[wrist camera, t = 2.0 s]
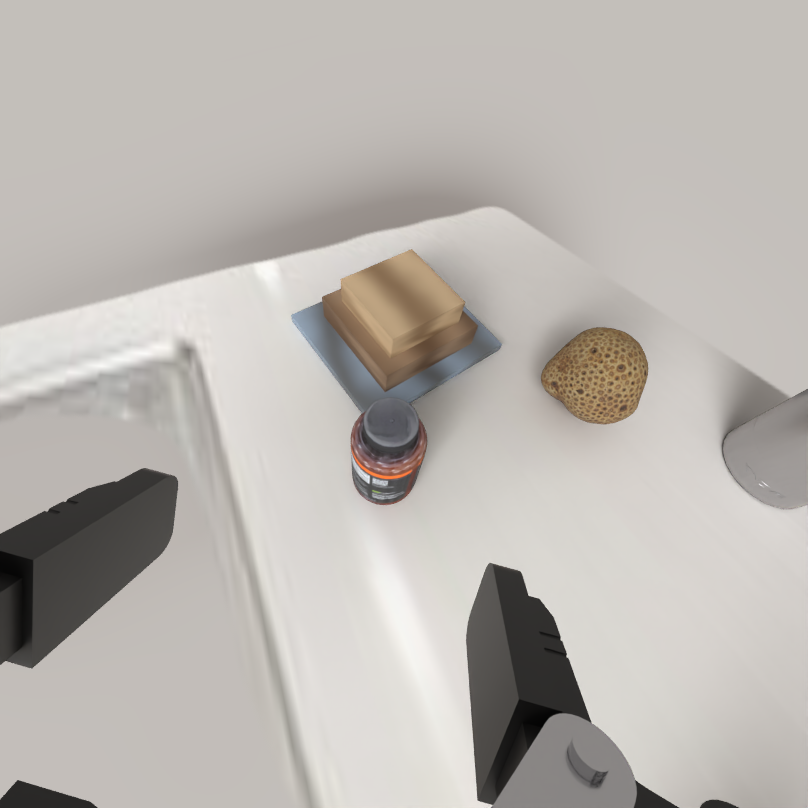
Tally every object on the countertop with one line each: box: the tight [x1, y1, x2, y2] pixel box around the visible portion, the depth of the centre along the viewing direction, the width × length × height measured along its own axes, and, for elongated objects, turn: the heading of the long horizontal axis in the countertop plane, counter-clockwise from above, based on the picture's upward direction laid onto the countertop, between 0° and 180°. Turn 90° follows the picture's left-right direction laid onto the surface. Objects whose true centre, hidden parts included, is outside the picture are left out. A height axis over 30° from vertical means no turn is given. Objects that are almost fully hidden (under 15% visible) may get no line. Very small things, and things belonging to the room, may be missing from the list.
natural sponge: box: [541, 327, 648, 424], centre depth 40 cm, size 9×9×10 cm
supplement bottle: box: [351, 397, 427, 505], centre depth 33 cm, size 6×6×11 cm
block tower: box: [291, 249, 502, 413], centre depth 44 cm, size 18×16×7 cm
